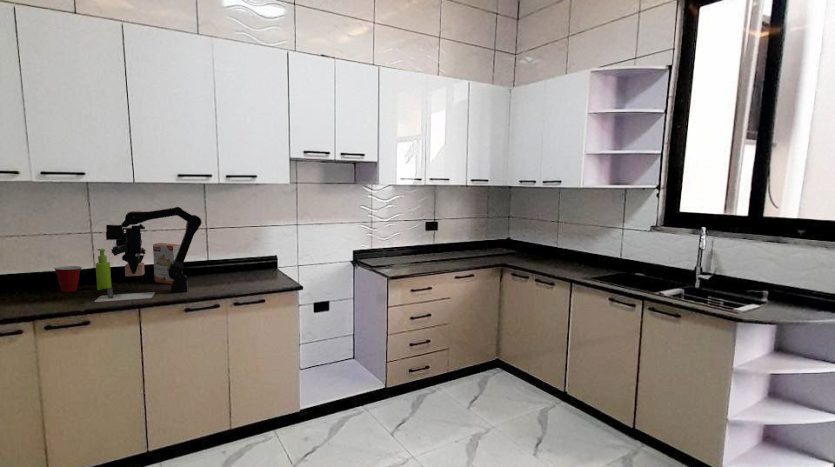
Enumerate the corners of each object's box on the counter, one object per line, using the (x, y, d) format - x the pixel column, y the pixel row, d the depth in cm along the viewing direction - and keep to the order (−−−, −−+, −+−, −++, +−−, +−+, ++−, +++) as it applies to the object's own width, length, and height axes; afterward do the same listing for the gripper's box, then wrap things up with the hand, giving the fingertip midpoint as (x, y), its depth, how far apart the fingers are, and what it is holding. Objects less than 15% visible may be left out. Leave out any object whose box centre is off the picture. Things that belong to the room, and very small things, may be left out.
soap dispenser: (108, 286, 226) (106, 247, 223) (113, 288, 221) (110, 249, 219) (94, 288, 221) (92, 249, 219) (99, 290, 217) (96, 250, 214)
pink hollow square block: (144, 273, 208) (144, 262, 207) (142, 275, 203) (141, 264, 202) (128, 273, 205) (127, 263, 205) (125, 276, 200) (124, 265, 199)
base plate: (155, 294, 213) (155, 292, 213) (151, 299, 203) (151, 297, 203) (100, 297, 204) (100, 295, 204) (94, 304, 194) (93, 301, 194)
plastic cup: (89, 288, 220) (87, 265, 219) (68, 294, 209) (66, 269, 208) (71, 287, 222) (69, 263, 221) (49, 292, 211) (47, 268, 210)
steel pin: (113, 297, 203) (113, 287, 202) (112, 298, 201) (112, 288, 200) (108, 297, 202) (107, 287, 201) (107, 298, 200) (106, 288, 199)
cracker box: (153, 282, 236) (152, 243, 233) (163, 280, 242) (161, 242, 239) (174, 285, 232) (172, 245, 229) (183, 282, 237) (182, 244, 235)
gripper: (117, 236, 207) (119, 269, 209) (107, 242, 190) (109, 277, 192) (144, 236, 212) (146, 268, 214) (137, 241, 195) (139, 276, 197)
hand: (135, 272), depth 204 cm, fingers closed on pink hollow square block, 6 cm apart
